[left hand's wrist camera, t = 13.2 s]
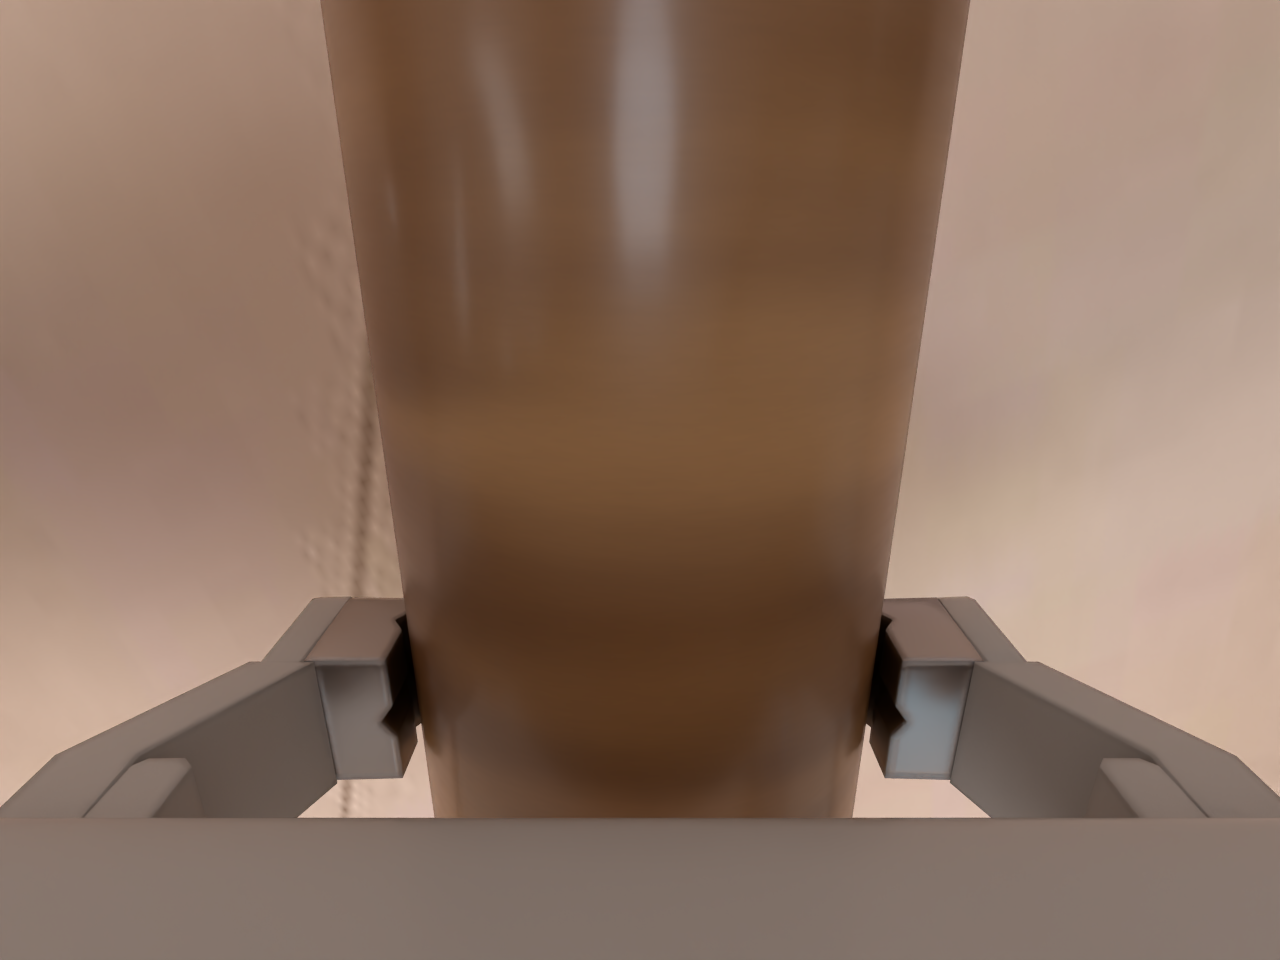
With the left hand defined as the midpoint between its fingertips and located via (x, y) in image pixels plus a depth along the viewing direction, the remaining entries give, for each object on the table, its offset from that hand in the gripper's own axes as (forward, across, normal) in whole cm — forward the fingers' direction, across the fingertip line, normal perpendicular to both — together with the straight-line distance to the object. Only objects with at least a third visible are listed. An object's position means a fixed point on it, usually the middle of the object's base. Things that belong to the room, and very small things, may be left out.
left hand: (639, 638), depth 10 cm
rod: (+3, 0, -9) cm, 9 cm away
